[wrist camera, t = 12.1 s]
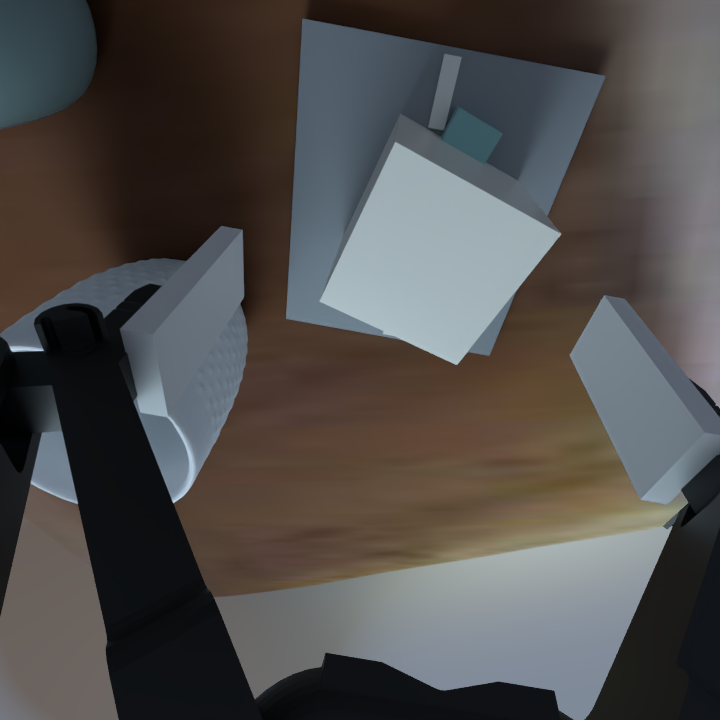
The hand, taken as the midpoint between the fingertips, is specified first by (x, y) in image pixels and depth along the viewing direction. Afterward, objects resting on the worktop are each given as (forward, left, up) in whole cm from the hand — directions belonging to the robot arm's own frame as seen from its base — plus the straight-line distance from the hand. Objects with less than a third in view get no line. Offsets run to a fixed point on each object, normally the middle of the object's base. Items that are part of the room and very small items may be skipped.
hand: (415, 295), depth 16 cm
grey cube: (0, +1, -10) cm, 10 cm away
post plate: (0, 0, -11) cm, 11 cm away
